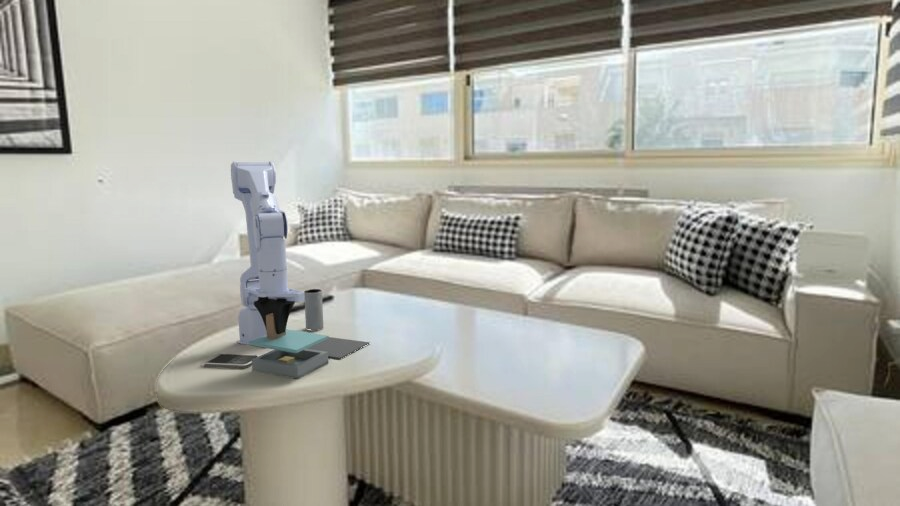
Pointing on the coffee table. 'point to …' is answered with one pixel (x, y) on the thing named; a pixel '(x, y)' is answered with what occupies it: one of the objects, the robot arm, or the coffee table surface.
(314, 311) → the grey cylinder
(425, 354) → the coffee table surface
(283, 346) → the lid
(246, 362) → the cell phone
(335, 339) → the mat
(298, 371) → the tub
